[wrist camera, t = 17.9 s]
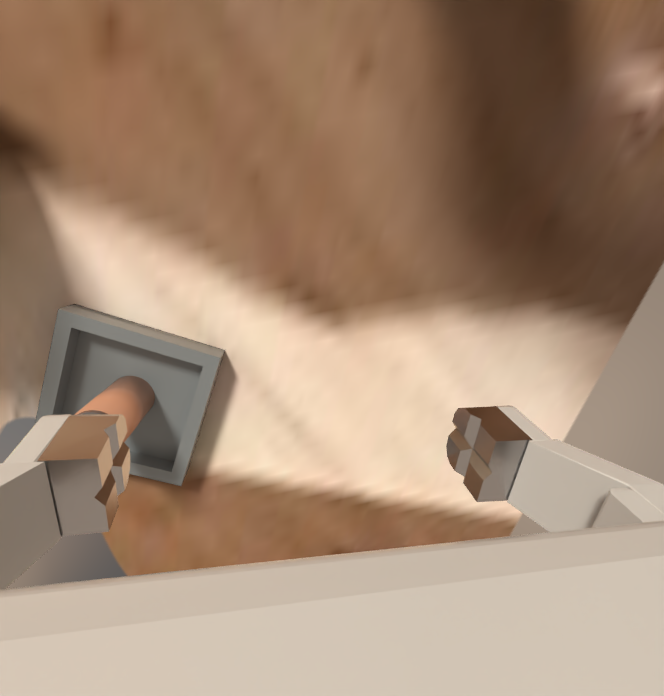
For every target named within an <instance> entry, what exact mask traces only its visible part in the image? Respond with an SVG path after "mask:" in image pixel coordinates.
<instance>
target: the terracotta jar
mask: <svg viewBox="0 0 664 696" xmlns="http://www.w3.org/2000/svg"><path fill="white" fill-rule="evenodd" d="M154 401H155V394H154V391H153V389H152V387H151V386H150V384H149V383H148V382H146V381H145V380H143V379H142V378H139V377H136V376H124V377H121V378H118V379H117V380H115V381H114V382H113V383H112V384H111V385H109V386H108V387H107V388H106V389H105V390H103V391H102V392H101V393H100V394H99V395H97V396H96V397H95V398H94V399H92V400H91V401H90V402H89V403H88V404H86V405H85V406H84V407H83V408H82V409H80V410H79V411H78V412H77V413H76V414H74V415H93V414H123V416H124V417H125V419H126V425H127V433H126V435H125V438H124V440H123V442H125V441H126V440H127V438H128V437H129V436H130V435H131V433H132V432H133V431H134V430H135V428H136V427H137V426H138V425H139V423H140V422H141V421H142V420H143V418H144V417H145V416H146V414H147V413H148V412H149V411H150V409H151V408H152V407H153V405H154Z"/></svg>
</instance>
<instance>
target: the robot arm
mask: <svg viewBox="0 0 664 696" xmlns="http://www.w3.org/2000/svg"><path fill="white" fill-rule="evenodd" d="M452 422H453V424H454V426H455V428H456V429H455V430H454V431H453V432H452V433H451V434H450V435H449V437H448V441H447V446H446V447H447V457H448V459H449V462H450V464H451V466H452V467H453V469H454V470H455V471H456V472H458V473H459V474H461V475H463V476H464V482H463V483H464V485H465V486H466V487H467V489H468V490H469V492H470V493H471V494H472V496H473V497H474V499H475V500H476V501H477V502H485V501H505V500H508V501H507V502H508V503H509V504H511V505H512V506H514V507H515V508H516V509H518V510H519V511H521V512H522V513H523V514H525V515H526V516H528V517H529V518H530V519H532V520H533V521H535V522H536V523H537V524H539V525H540V526H542V527H543V528H545V529H546V530H547V531H549V533H538V534H528V535H519V536H509V537H499V538H490V539H480V540H470V541H461V542H451V543H441V544H432V545H422V546H412V547H403V548H394V549H384V550H375V551H365V552H356V553H346V554H337V555H328V556H318V557H309V558H299V559H290V560H280V561H270V562H261V563H251V564H241V565H232V566H222V567H213V568H203V569H193V570H184V571H174V572H164V573H155V574H145V575H136V576H126V577H118V578H117V577H116V578H108V579H98V580H88V581H78V582H68V583H59V584H49V585H40V586H30V587H20V588H11V589H6V588H7V587H8V586H9V585H10V584H12V582H14V581H15V580H16V579H17V578H18V577H19V576H20V575H22V574H23V573H24V572H25V571H26V570H27V569H28V568H29V567H30V566H32V565H33V564H34V563H35V562H36V561H37V560H38V559H39V558H41V557H42V556H43V555H44V554H45V553H46V552H47V551H48V550H49V549H51V548H52V547H53V546H54V545H55V544H56V543H57V542H58V541H59V540H60V539H61V536H70V535H80V534H89V533H98V532H108V531H109V530H110V527H111V525H112V522H113V520H114V517H115V514H116V512H117V509H118V507H119V505H118V497H117V496H118V495H119V494H121V493H122V492H123V491H124V490H125V488H126V485H127V482H128V477H129V471H130V449H129V447H128V446H127V445H126V444H125V443H124V442H123V440H124V438H125V435H126V433H127V425H126V419H125V417H124V416H123V414H93V415H71V414H65V415H46V416H42V417H41V418H40V419H39V420H38V422H37V423H36V424H35V425H34V426H33V428H32V429H31V430H30V431H29V432H28V434H27V435H26V436H25V437H24V439H23V440H22V441H21V442H20V443H19V444H18V446H17V447H16V448H15V450H13V452H12V453H11V454H10V455H9V456H8V458H7V459H6V460H5V461H4V462H3V463H0V696H664V485H663V484H662V483H659V482H657V481H655V480H652V479H650V478H648V477H645V476H643V475H640V474H638V473H636V472H633V471H631V470H628V469H626V468H624V467H621V466H619V465H617V464H614V463H612V462H610V461H607V460H605V459H602V458H600V457H598V456H595V455H593V454H591V453H588V452H586V451H584V450H581V449H579V448H576V447H574V446H572V445H569V444H567V443H564V442H562V441H560V440H557V439H555V440H552V439H551V438H550V437H549V436H547V435H546V434H545V433H544V432H543V431H542V430H540V429H539V428H538V427H537V426H536V425H535V424H534V423H532V422H531V421H530V420H529V419H528V418H527V417H525V416H524V415H523V414H522V413H521V412H520V411H519V410H517V409H516V408H515V407H512V406H509V405H507V406H492V407H473V408H458V409H457V411H456V412H455V414H454V418H453V421H452Z"/></svg>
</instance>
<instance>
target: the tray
mask: <svg viewBox="0 0 664 696" xmlns="http://www.w3.org/2000/svg"><path fill="white" fill-rule="evenodd" d="M224 352H225V350H223V349H219V348H216V347H213V346H210V345H206V344H203V343H200V342H197V341H193V340H190V339H187V338H184V337H180V336H177V335H174V334H171V333H167V332H164V331H161V330H158V329H154V328H151V327H148V326H145V325H141V324H138V323H135V322H132V321H128V320H125V319H122V318H118V317H115V316H112V315H109V314H105V313H102V312H99V311H96V310H92V309H89V308H86V307H83V306H79V305H76V304H73V305H69V306H66V307H63V308H60V309H58V313H57V318H56V323H55V328H54V333H53V338H52V343H51V347H50V352H49V357H48V362H47V367H46V372H45V377H44V382H43V387H42V391H41V396H40V401H39V406H38V411H37V416H36V421H35V424H36V423H37V422H38V420H39V419H40V418H41V417H42V416H46V415H65V414H71V415H74V414H76V413H77V412H78V411H79V410H80V409H82V408H83V407H84V406H85V405H86V404H88V403H89V402H90V401H91V400H92V399H94V398H95V397H96V396H97V395H99V394H100V393H101V392H102V391H103V390H105V389H106V388H107V387H108V386H109V385H111V384H112V383H113V382H114V381H115V380H117V379H118V378H121V377H124V376H136V377H139V378H142V379H143V380H145V381H146V382H148V383H149V384H150V386H151V387H152V389H153V391H154V394H155V401H154V405H153V407H152V408H151V409H150V411H149V412H148V413H147V414H146V416H145V417H144V418H143V420H142V421H141V422H140V423H139V425H138V426H137V427H136V428H135V430H134V431H133V432H132V433H131V435H130V436H129V437H128V438H127V440H126V441H125V442H124V443H125V444H126V445H127V446H128V447H129V449H130V471H129V474H132V475H137V476H141V477H145V478H149V479H153V480H158V481H162V482H166V483H170V484H175V485H179V486H181V485H182V483H183V481H184V478H185V476H186V474H187V471H188V468H189V465H190V462H191V458H192V455H193V452H194V449H195V446H196V442H197V439H198V436H199V433H200V429H201V426H202V423H203V420H204V416H205V413H206V410H207V407H208V403H209V400H210V397H211V394H212V391H213V387H214V384H215V381H216V378H217V374H218V371H219V368H220V365H221V361H222V358H223V355H224Z"/></svg>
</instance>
